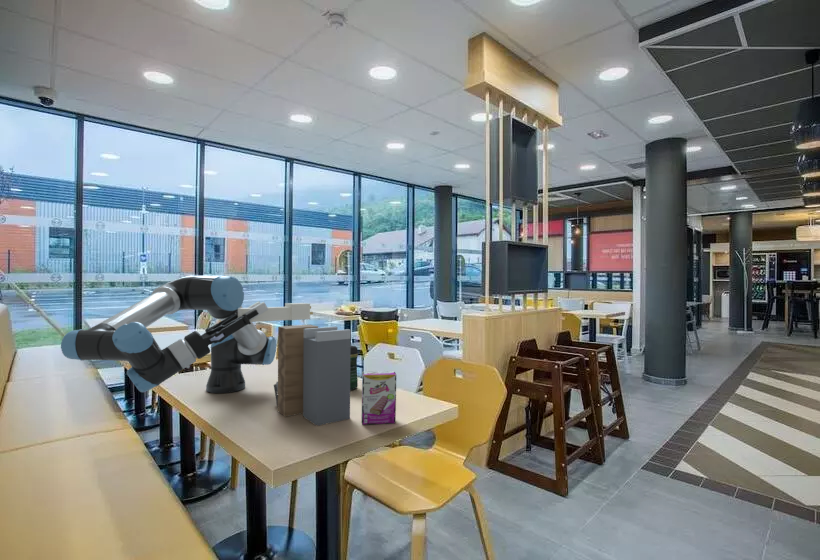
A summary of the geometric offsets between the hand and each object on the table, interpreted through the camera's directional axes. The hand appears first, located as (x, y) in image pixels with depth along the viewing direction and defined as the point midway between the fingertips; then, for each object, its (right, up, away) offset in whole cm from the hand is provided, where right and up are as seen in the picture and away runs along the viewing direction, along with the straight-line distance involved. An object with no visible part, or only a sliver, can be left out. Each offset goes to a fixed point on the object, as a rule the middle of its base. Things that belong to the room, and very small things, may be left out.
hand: (263, 305), depth 132 cm
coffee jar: (+18, -39, +52) cm, 67 cm away
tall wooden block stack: (+5, -39, +20) cm, 44 cm away
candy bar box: (+35, -39, +9) cm, 53 cm away
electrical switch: (-1, -39, +29) cm, 48 cm away
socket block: (+17, -39, +13) cm, 44 cm away
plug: (+3, -5, +3) cm, 6 cm away
